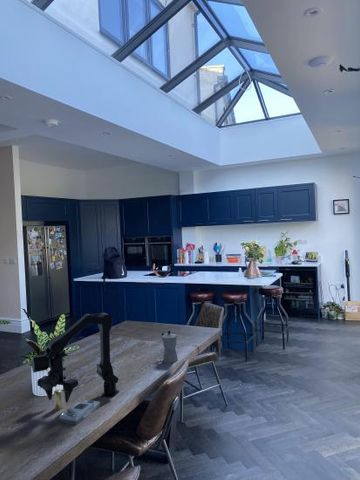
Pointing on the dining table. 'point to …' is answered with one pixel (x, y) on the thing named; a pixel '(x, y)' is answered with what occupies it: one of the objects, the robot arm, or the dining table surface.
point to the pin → (58, 399)
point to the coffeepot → (169, 347)
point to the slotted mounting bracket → (79, 411)
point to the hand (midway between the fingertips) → (58, 401)
